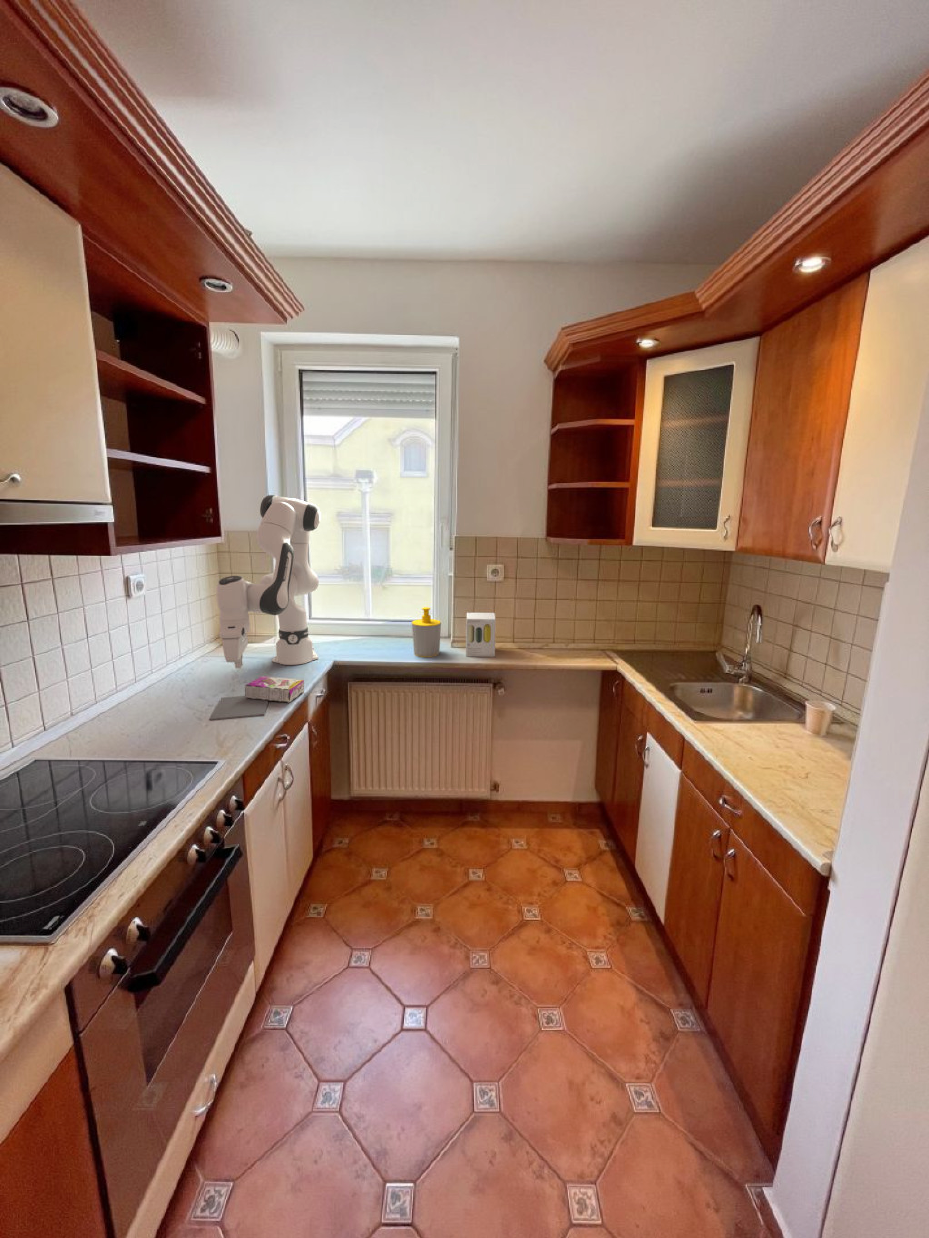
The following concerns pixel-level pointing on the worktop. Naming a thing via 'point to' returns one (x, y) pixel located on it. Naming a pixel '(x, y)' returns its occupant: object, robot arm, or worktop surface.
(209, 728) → the worktop surface
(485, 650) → the supplement box
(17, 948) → the worktop surface
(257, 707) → the mat
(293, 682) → the candy bar box
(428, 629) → the soap bottle
